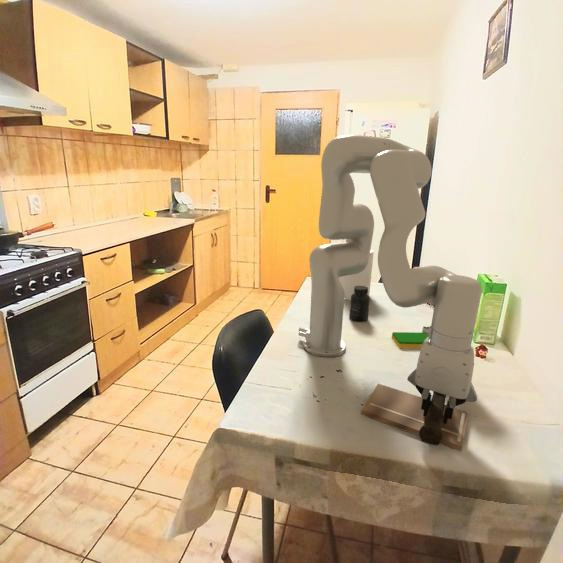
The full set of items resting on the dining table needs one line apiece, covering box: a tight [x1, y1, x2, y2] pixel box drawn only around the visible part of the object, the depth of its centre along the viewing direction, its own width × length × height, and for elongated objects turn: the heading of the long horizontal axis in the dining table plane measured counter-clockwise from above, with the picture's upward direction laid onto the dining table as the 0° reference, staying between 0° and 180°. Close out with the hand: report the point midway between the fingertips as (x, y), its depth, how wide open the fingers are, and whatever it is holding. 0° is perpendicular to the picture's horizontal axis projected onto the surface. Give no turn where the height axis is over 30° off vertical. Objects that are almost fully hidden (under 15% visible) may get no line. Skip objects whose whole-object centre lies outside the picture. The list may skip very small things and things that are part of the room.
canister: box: [339, 248, 375, 301], centre depth 151 cm, size 14×14×20 cm
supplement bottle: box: [348, 286, 371, 323], centre depth 127 cm, size 7×7×12 cm
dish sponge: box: [391, 331, 429, 349], centre depth 111 cm, size 7×14×2 cm, turn 91°
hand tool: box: [418, 391, 447, 446], centre depth 74 cm, size 19×4×5 cm, turn 148°
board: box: [360, 383, 469, 452], centre depth 77 cm, size 20×12×1 cm, turn 58°
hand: (435, 415), depth 75 cm, fingers closed on hand tool, 3 cm apart
